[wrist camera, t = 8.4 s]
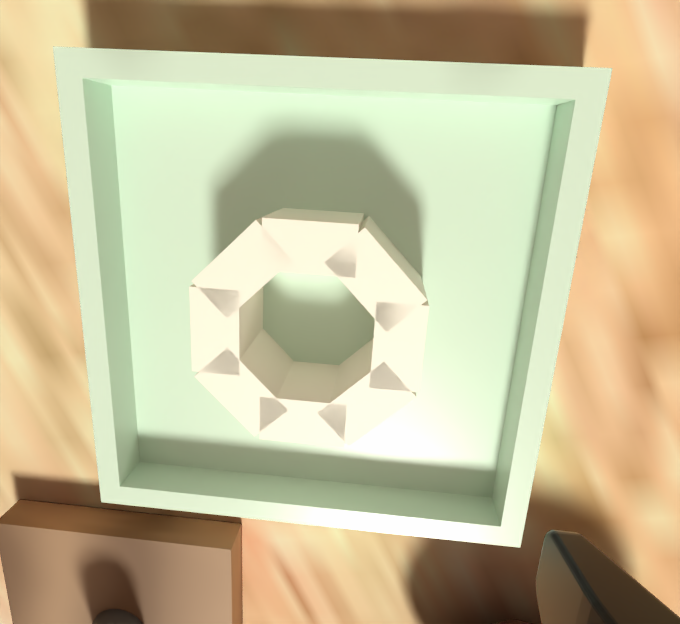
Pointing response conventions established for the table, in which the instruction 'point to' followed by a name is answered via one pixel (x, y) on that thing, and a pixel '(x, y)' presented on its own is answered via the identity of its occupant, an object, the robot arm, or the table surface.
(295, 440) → the ring
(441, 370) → the tray
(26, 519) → the stake board
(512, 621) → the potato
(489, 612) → the table surface
